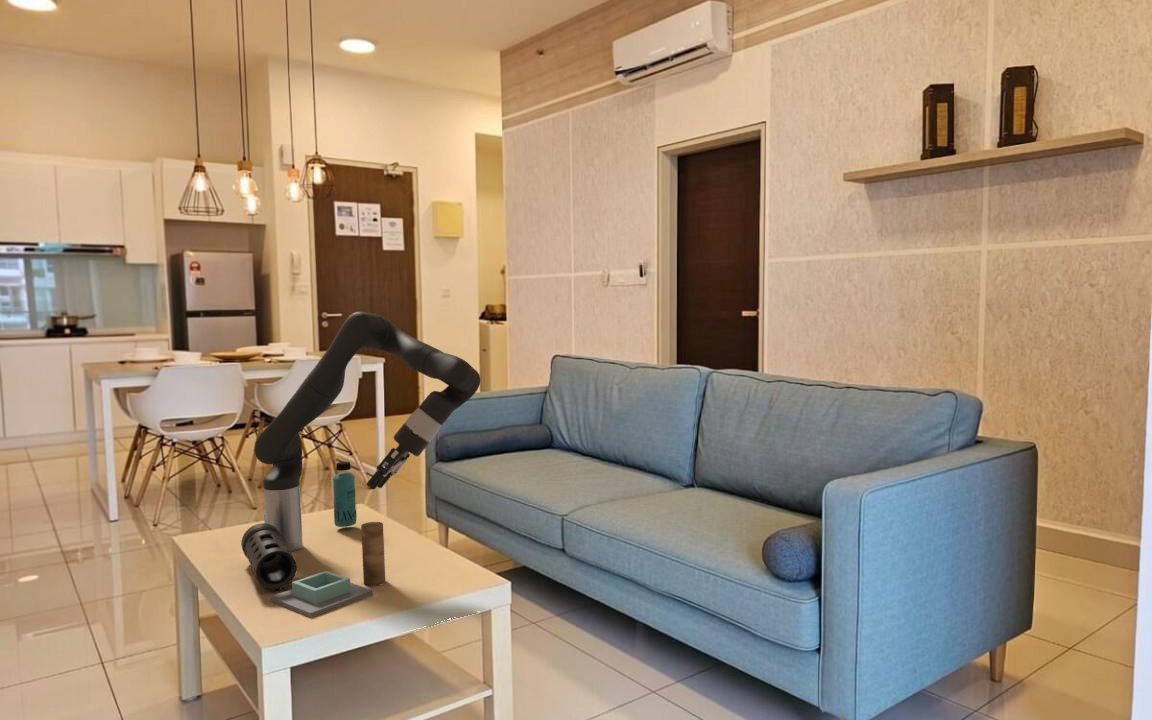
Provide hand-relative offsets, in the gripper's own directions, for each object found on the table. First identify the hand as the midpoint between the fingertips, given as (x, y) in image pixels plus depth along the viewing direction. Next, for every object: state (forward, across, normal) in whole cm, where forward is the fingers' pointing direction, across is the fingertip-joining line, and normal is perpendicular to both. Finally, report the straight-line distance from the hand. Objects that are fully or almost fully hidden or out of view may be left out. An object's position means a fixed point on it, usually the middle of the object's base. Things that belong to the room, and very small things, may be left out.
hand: (373, 486), depth 181 cm
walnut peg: (+18, -6, +14) cm, 24 cm away
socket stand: (+26, +2, +7) cm, 27 cm away
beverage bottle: (+22, -52, -5) cm, 57 cm away
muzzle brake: (+34, -15, -8) cm, 39 cm away
